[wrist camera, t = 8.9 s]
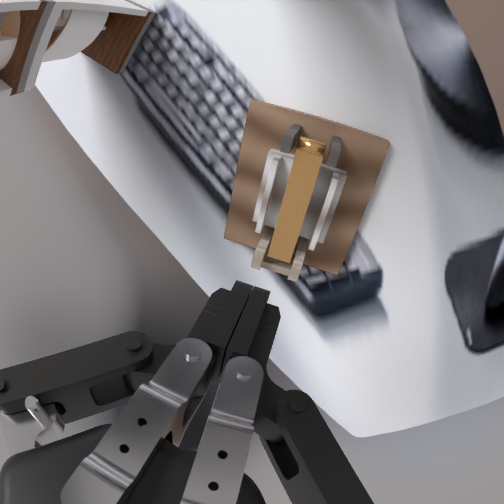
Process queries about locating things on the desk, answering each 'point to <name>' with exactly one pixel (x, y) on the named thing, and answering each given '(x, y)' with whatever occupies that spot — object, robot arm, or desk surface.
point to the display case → (65, 35)
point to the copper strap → (296, 197)
